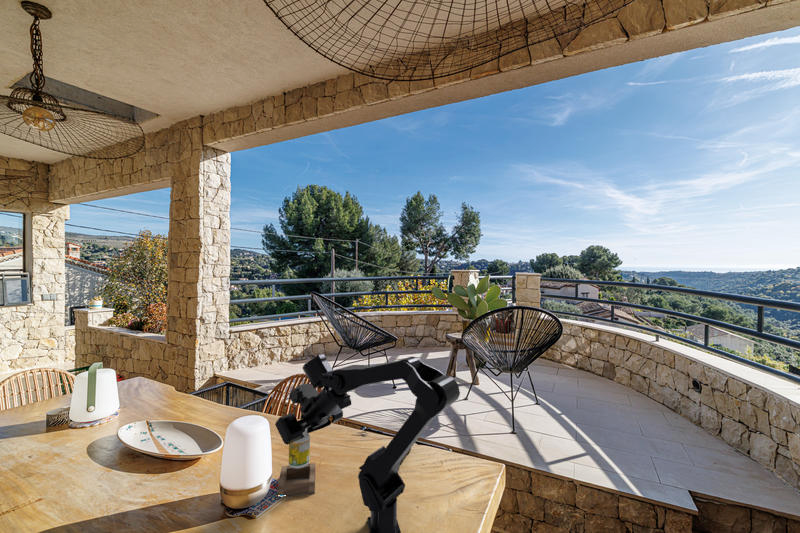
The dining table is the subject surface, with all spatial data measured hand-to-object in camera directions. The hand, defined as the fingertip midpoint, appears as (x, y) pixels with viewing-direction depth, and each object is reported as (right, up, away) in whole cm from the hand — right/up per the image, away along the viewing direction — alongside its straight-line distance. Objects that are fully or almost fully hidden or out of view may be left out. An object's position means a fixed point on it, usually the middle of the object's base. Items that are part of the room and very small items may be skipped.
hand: (296, 436), depth 92 cm
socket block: (+1, -12, -1) cm, 12 cm away
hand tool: (+28, -14, +13) cm, 33 cm away
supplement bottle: (+1, -7, -1) cm, 7 cm away
